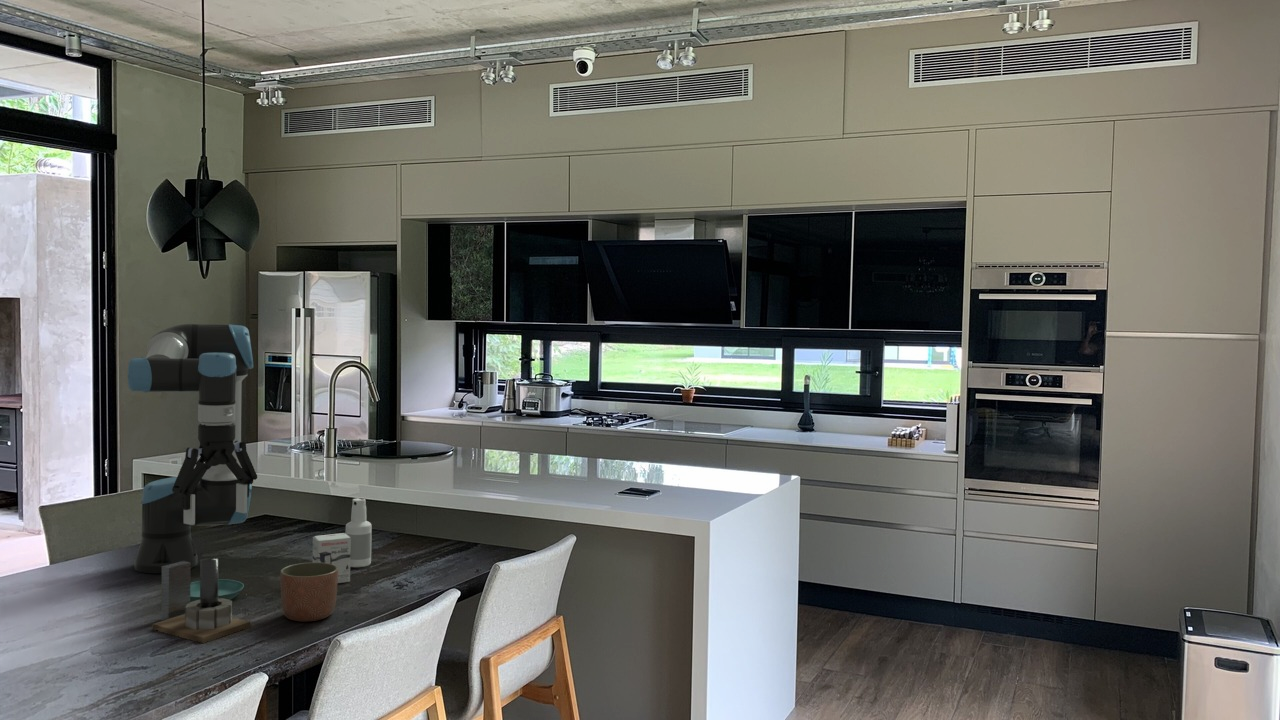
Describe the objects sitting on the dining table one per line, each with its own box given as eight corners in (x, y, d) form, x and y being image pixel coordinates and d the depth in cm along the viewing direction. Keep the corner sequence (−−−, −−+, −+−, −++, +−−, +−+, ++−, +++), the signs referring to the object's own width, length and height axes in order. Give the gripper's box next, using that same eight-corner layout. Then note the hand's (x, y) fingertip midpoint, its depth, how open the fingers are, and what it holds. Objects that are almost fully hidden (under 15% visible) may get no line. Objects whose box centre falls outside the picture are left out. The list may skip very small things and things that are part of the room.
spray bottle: (339, 565, 261) (340, 500, 260) (356, 560, 267) (357, 496, 267) (360, 568, 259) (361, 502, 258) (376, 563, 265) (377, 498, 264)
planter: (304, 629, 210) (305, 579, 209) (268, 618, 216) (268, 570, 216) (348, 614, 220) (349, 568, 220) (312, 604, 227) (313, 559, 226)
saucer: (210, 611, 221) (211, 599, 221) (162, 602, 226) (162, 591, 226) (257, 594, 234) (257, 583, 234) (210, 586, 240) (210, 576, 239)
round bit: (196, 623, 208) (196, 559, 207) (210, 618, 211) (210, 555, 210) (207, 626, 206) (208, 561, 206) (221, 621, 209) (222, 558, 209)
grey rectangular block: (168, 621, 212) (168, 567, 211) (161, 619, 213) (161, 566, 212) (190, 614, 217) (190, 562, 216) (183, 613, 218) (183, 560, 217)
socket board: (152, 629, 206) (152, 605, 206) (200, 614, 217) (200, 592, 217) (203, 643, 199) (203, 618, 199) (250, 627, 210) (250, 603, 210)
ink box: (316, 586, 242) (317, 540, 241) (311, 581, 246) (312, 535, 245) (350, 581, 246) (351, 536, 246) (345, 577, 251) (345, 532, 250)
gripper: (178, 430, 199) (177, 531, 200) (274, 419, 221) (273, 510, 222) (154, 427, 202) (153, 526, 203) (251, 416, 224) (250, 505, 226)
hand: (216, 518), depth 213 cm, fingers open, 13 cm apart
